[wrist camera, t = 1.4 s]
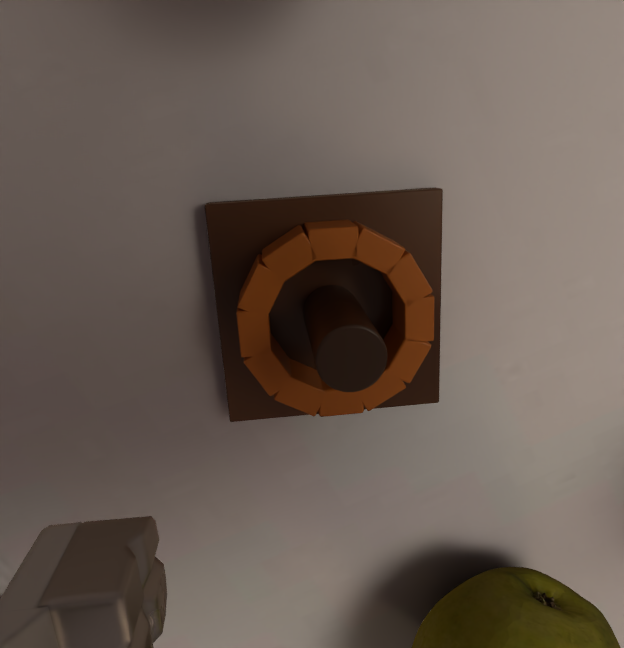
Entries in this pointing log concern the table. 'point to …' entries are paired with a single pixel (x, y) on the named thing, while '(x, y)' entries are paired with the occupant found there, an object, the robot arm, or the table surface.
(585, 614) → the apple
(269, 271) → the ring
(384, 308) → the post
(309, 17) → the table surface
